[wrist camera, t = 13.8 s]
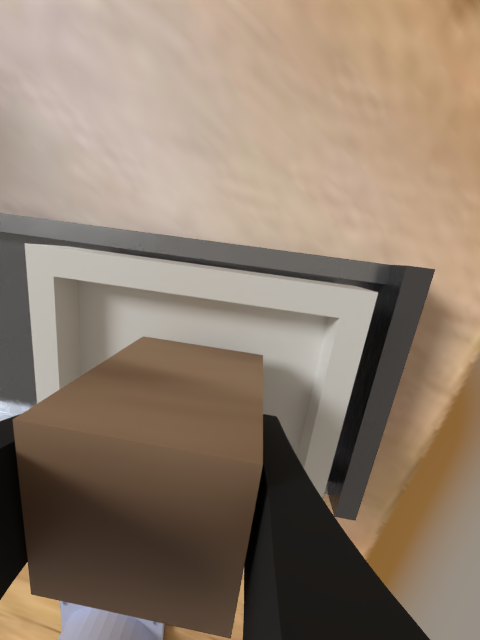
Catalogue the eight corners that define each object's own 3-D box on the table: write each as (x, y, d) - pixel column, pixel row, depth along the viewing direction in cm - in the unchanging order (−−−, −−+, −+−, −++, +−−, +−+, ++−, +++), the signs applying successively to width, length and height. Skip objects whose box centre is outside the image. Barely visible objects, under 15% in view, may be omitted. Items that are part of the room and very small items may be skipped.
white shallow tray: (301, 463, 14) (314, 529, 10) (94, 426, 14) (42, 476, 11) (343, 282, 11) (378, 292, 8) (91, 247, 12) (24, 243, 9)
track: (339, 475, 15) (355, 520, 12) (-27, 409, 16) (-82, 437, 13) (398, 267, 12) (435, 269, 9) (-57, 207, 13) (-135, 194, 10)
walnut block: (246, 457, 10) (230, 638, 5) (139, 438, 10) (30, 594, 6) (263, 355, 9) (263, 464, 4) (142, 336, 9) (12, 419, 4)
